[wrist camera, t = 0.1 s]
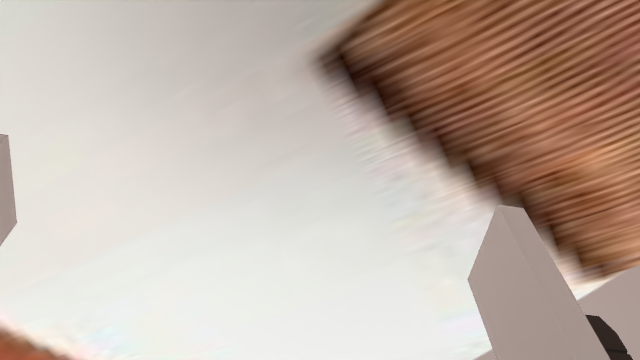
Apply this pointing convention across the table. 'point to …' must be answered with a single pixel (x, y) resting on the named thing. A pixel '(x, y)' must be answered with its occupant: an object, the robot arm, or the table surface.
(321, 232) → the table surface
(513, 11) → the table surface
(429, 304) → the table surface
